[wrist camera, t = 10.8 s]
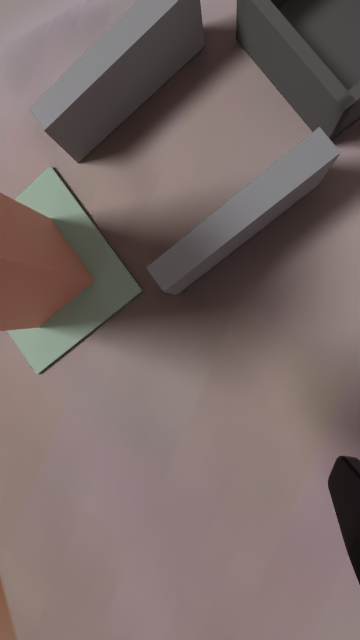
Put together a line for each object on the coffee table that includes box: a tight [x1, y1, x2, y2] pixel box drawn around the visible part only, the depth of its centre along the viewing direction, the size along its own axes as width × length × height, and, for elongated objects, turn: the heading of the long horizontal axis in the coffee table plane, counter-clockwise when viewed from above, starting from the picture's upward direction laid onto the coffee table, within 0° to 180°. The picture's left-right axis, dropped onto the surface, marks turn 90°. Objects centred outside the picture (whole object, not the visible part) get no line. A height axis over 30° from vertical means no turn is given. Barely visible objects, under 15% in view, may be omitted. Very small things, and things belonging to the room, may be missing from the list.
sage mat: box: [7, 166, 143, 374], centre depth 20 cm, size 10×9×1 cm
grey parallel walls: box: [28, 0, 341, 295], centre depth 16 cm, size 12×10×4 cm
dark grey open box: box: [236, 0, 360, 141], centre depth 15 cm, size 8×6×3 cm
